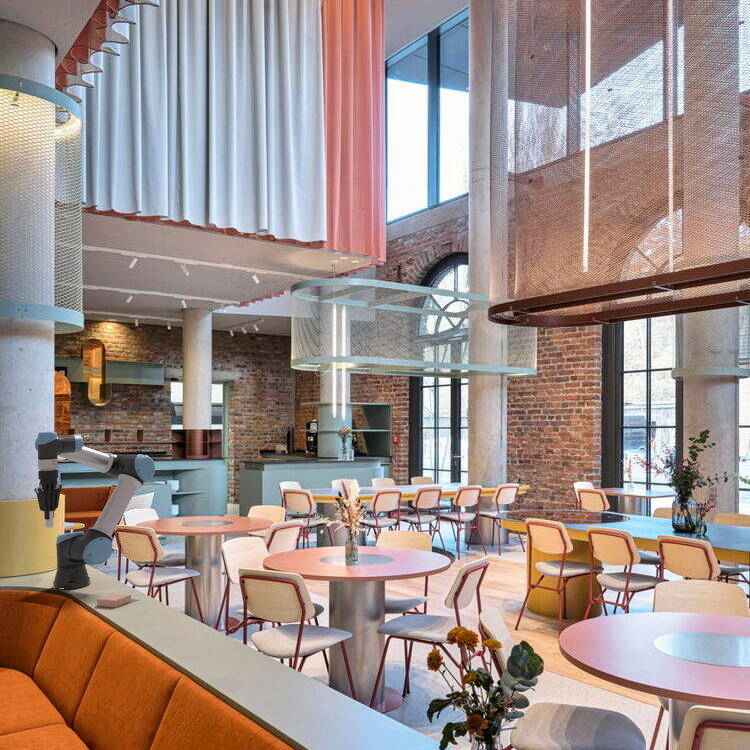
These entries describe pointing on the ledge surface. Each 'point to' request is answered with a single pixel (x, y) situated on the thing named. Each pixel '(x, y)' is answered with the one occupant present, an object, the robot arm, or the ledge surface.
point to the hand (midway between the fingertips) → (49, 527)
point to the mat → (127, 603)
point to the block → (114, 600)
